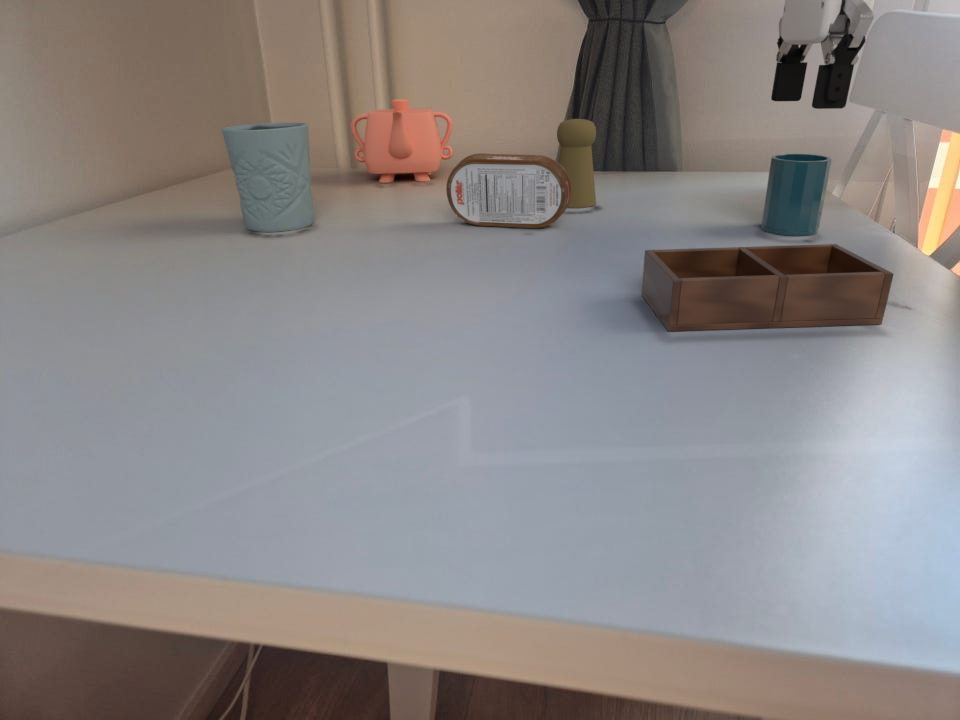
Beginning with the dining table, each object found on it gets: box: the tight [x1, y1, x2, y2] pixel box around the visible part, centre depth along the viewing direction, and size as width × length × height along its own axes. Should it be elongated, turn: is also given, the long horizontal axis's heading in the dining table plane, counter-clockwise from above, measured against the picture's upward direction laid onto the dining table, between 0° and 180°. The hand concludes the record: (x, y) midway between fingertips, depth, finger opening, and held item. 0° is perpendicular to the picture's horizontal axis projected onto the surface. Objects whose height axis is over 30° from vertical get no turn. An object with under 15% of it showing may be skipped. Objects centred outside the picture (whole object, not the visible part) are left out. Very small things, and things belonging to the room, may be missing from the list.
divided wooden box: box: [640, 243, 894, 332], centre depth 54 cm, size 16×8×4 cm, turn 91°
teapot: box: [350, 98, 454, 184], centre depth 114 cm, size 15×17×13 cm
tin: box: [445, 152, 571, 229], centre depth 81 cm, size 15×3×8 cm, turn 74°
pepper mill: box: [556, 118, 597, 209], centre depth 91 cm, size 6×6×11 cm
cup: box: [760, 153, 832, 237], centre depth 76 cm, size 6×6×8 cm
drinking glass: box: [221, 122, 315, 233], centre depth 84 cm, size 10×10×12 cm
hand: (805, 104), depth 72 cm, fingers open, 9 cm apart
